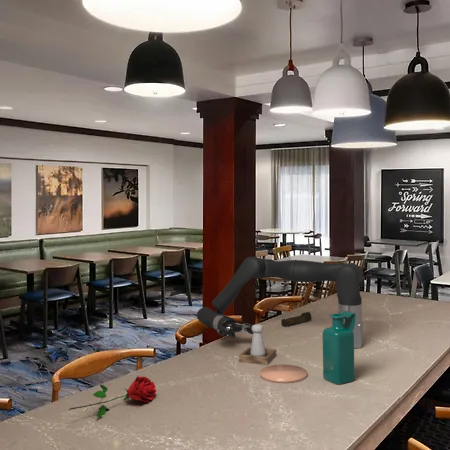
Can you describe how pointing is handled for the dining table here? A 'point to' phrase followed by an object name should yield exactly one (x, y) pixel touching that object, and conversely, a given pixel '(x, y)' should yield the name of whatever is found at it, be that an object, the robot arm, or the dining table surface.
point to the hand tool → (296, 319)
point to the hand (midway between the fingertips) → (243, 333)
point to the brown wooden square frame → (257, 357)
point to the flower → (128, 393)
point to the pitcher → (339, 349)
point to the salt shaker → (257, 341)
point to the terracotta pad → (283, 373)
